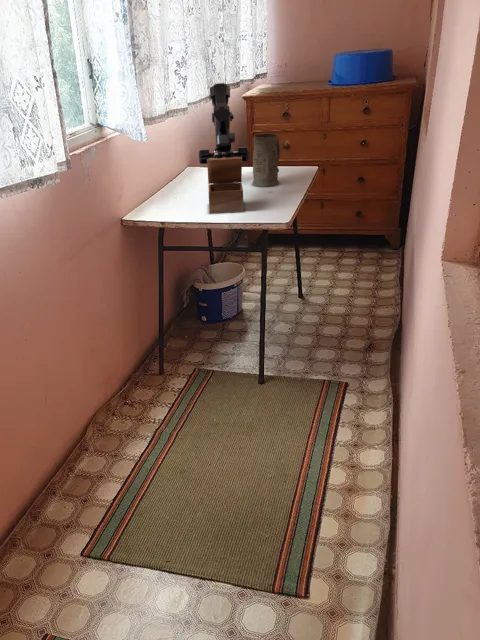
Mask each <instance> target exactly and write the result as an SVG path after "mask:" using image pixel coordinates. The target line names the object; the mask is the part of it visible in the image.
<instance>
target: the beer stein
mask: <svg viewBox="0 0 480 640" xmlns="http://www.w3.org/2000/svg"><path fill="white" fill-rule="evenodd" d="M280 144H281V143H280V136H279V135H278V134H276V133H261V134H255V135H254V136H253V152H252V177H253V181H252V186H255V187H259V188H269V187H274V186H277V185H278V184H279V178H278V177H279V172H280V169H279V161H280V157H281V145H280Z"/></svg>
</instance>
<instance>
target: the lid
mask: <svg viewBox="0 0 480 640" xmlns="http://www.w3.org/2000/svg"><path fill="white" fill-rule="evenodd" d="M206 167H207V182H208V183H207V185H208V184H215V183H231V182H234V183H239V182H241V183H242V180H243V179H242V175H243V173H242V172H243V162H242V157H232V158H216V159H207V164H206Z"/></svg>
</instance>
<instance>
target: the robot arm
mask: <svg viewBox="0 0 480 640" xmlns="http://www.w3.org/2000/svg"><path fill="white" fill-rule="evenodd" d="M230 98H231V86H230V85H228V84H227V83H225V82H221V83H220V82H219V83H214V84H213V85H212V86H210V87H209V99H210V100H211V105H212V107H213V108H212V109H213V112H211V123H212V124H213V126H214V137H215V148H214V149H213V150H214V151H213V152H210V148H204V149H199V150H198V160H199V165H207V159H216V158H232V157H242V163H245V162H248V161H249V155H250V150H249V147H248V146H238V147H237V150H233V151H232V144H235V143H236V134H235V132H231V123H232V122H233V120H234V114H233V113H232V111H231V109H230V105H229V100H230ZM231 183H235V182H231ZM215 184H222V183H215Z"/></svg>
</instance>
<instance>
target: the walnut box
mask: <svg viewBox="0 0 480 640" xmlns="http://www.w3.org/2000/svg"><path fill="white" fill-rule="evenodd" d="M207 185H208V187H207V188H208V208H209V209H208V212H209V214H210V215H212V214H213V215H214V214H227V213H228V214H229V213H244V209H245V208H244V189H243V183H242V181H241V182H234V183H222V184H208V183H207Z"/></svg>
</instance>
